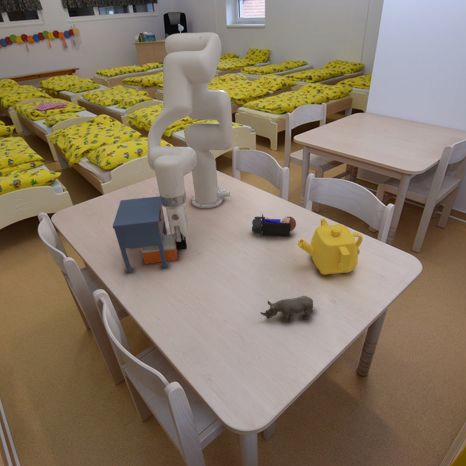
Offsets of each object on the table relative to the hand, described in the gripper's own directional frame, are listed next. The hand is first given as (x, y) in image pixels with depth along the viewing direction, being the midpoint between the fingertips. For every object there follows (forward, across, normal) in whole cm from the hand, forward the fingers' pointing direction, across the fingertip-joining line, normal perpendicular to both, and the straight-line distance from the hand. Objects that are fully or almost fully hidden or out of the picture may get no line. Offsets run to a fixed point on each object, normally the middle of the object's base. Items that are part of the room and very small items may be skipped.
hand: (182, 248), depth 109 cm
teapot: (+2, -15, -43) cm, 46 cm away
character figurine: (+2, +4, -31) cm, 32 cm away
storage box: (+2, 0, +7) cm, 7 cm away
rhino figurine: (+2, -33, -26) cm, 42 cm away
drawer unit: (+2, 0, +11) cm, 11 cm away
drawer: (-9, 0, +10) cm, 13 cm away
